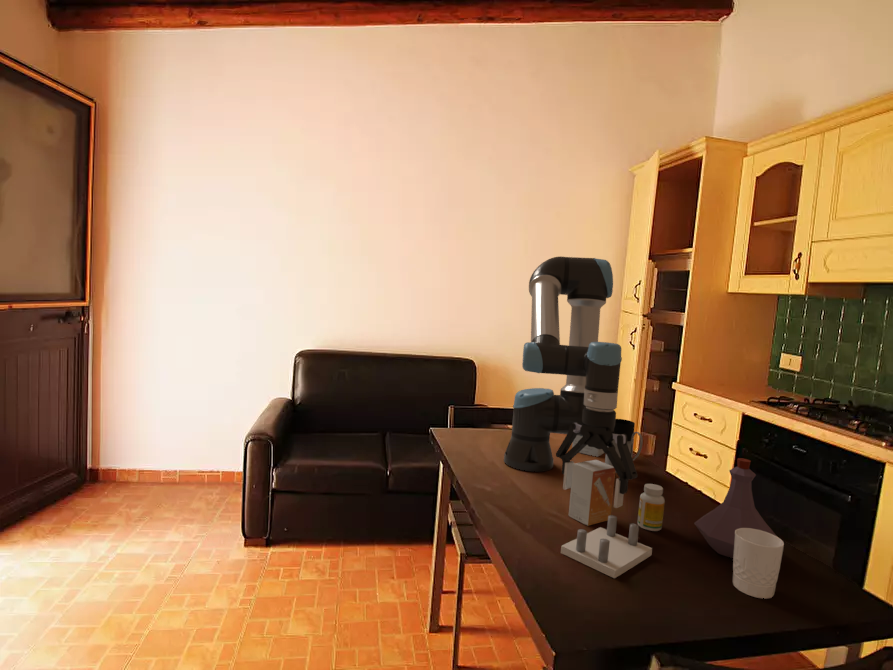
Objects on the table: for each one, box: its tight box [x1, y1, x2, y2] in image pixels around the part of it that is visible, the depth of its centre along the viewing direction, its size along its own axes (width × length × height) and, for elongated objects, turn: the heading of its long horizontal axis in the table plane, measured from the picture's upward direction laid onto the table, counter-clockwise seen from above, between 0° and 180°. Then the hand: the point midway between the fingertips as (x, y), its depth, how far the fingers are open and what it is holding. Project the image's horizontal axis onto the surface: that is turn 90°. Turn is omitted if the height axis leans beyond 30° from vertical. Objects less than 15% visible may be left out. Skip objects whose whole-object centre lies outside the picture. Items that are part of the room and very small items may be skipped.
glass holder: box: [604, 418, 644, 474], centre depth 163 cm, size 9×14×15 cm, turn 18°
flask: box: [694, 457, 777, 559], centre depth 114 cm, size 16×16×20 cm
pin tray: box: [560, 514, 653, 579], centre depth 109 cm, size 12×15×6 cm
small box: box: [568, 459, 616, 527], centre depth 127 cm, size 8×6×13 cm
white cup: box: [732, 528, 785, 600], centre depth 99 cm, size 8×8×10 cm
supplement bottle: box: [637, 483, 666, 532], centre depth 124 cm, size 5×5×10 cm
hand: (591, 497), depth 126 cm, fingers open, 13 cm apart
